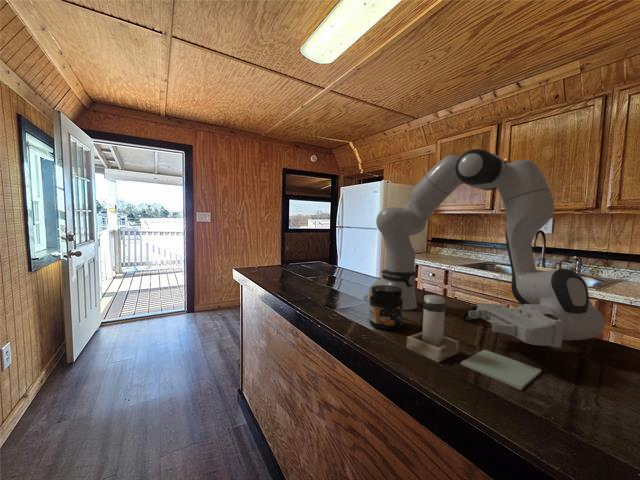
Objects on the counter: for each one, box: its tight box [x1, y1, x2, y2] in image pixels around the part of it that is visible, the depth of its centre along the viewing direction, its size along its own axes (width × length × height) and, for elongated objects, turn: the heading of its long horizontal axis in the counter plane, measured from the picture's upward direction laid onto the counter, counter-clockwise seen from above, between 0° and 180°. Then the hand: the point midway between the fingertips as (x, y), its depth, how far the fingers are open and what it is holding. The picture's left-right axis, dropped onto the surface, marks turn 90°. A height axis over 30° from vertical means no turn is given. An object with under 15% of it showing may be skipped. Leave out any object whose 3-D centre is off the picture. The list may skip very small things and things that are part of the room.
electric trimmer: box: [463, 305, 477, 323], centre depth 101 cm, size 4×16×3 cm, turn 139°
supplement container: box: [368, 285, 404, 331], centre depth 89 cm, size 10×10×12 cm
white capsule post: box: [422, 294, 446, 347], centre depth 72 cm, size 5×5×14 cm
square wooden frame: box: [406, 331, 460, 363], centre depth 72 cm, size 9×9×3 cm
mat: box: [460, 349, 542, 391], centre depth 64 cm, size 12×12×1 cm
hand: (480, 320), depth 72 cm, fingers open, 8 cm apart
